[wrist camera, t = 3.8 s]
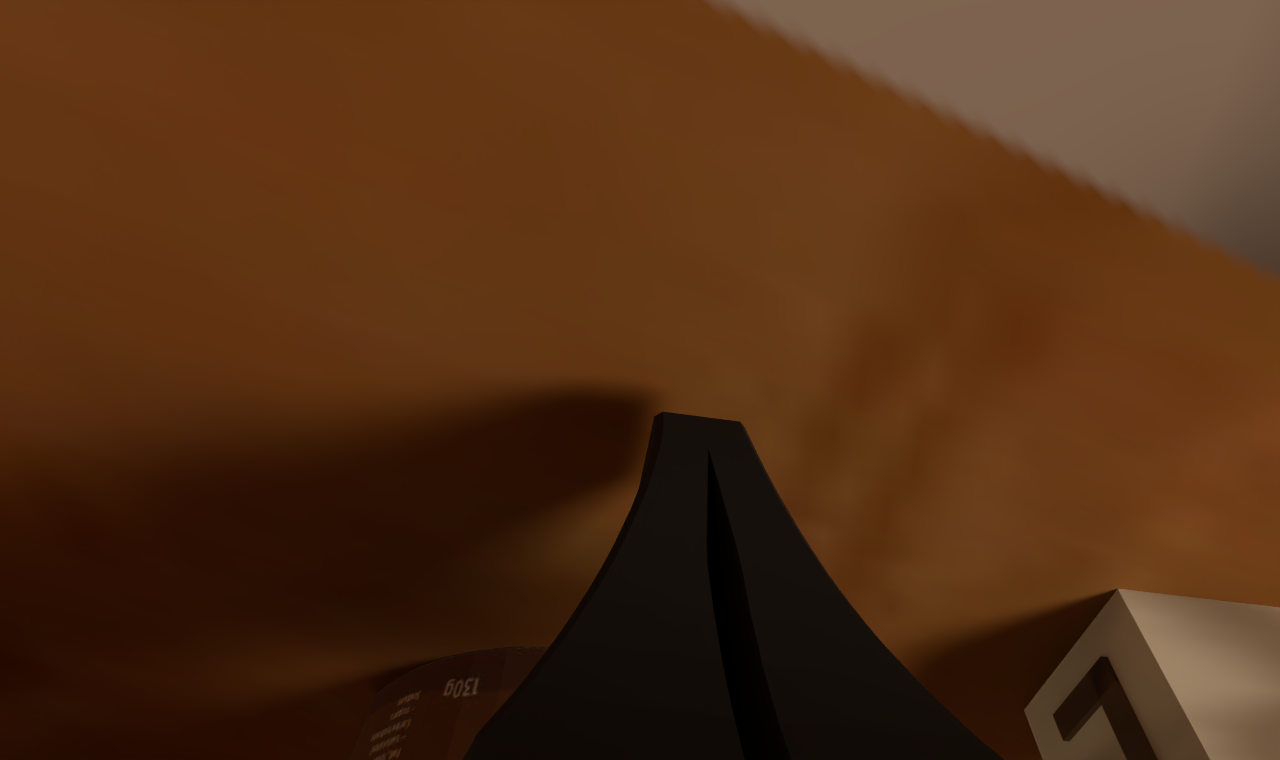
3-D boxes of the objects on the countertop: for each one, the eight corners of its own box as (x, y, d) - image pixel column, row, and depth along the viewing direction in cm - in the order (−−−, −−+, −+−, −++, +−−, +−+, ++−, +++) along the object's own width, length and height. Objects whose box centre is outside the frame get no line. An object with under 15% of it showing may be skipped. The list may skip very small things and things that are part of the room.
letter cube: (1320, 609, 17) (1490, 833, 14) (1200, 725, 20) (1317, 937, 17) (1109, 584, 17) (1228, 808, 14) (1016, 706, 20) (1095, 918, 16)
